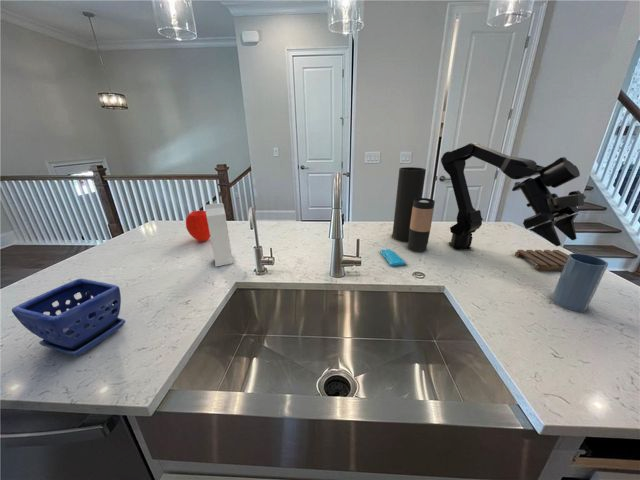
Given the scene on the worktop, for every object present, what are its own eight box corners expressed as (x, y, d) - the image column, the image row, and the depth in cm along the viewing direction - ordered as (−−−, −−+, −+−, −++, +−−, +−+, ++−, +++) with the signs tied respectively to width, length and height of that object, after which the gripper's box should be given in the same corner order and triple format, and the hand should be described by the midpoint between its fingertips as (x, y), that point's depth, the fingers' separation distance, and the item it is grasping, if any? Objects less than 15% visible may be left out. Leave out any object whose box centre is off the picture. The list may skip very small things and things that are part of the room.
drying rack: (538, 270, 88) (540, 264, 87) (514, 255, 99) (516, 249, 98) (586, 270, 87) (589, 264, 86) (557, 255, 98) (559, 249, 97)
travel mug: (404, 245, 108) (410, 198, 101) (421, 244, 109) (429, 197, 101) (411, 252, 101) (418, 203, 94) (430, 252, 102) (439, 202, 94)
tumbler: (566, 311, 68) (586, 266, 63) (545, 295, 75) (561, 253, 69) (594, 311, 68) (616, 266, 63) (570, 295, 74) (589, 253, 69)
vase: (387, 235, 119) (394, 168, 107) (405, 232, 122) (413, 166, 111) (402, 243, 110) (410, 171, 99) (420, 239, 114) (431, 169, 102)
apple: (223, 238, 118) (218, 209, 113) (200, 247, 109) (193, 216, 103) (207, 233, 124) (201, 206, 119) (183, 241, 115) (177, 212, 109)
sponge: (394, 249, 103) (380, 248, 102) (406, 263, 92) (391, 262, 91) (393, 252, 103) (379, 251, 102) (405, 266, 92) (390, 266, 91)
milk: (233, 263, 95) (224, 205, 86) (215, 266, 93) (204, 207, 84) (231, 256, 100) (222, 200, 91) (214, 259, 98) (204, 202, 89)
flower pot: (96, 315, 68) (79, 276, 64) (134, 324, 65) (120, 284, 60) (33, 353, 57) (7, 308, 52) (75, 367, 53) (51, 320, 49)
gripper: (551, 184, 68) (586, 238, 64) (584, 178, 76) (617, 226, 72) (510, 204, 78) (538, 252, 74) (543, 197, 86) (570, 240, 82)
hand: (566, 242), depth 75 cm, fingers open, 9 cm apart
